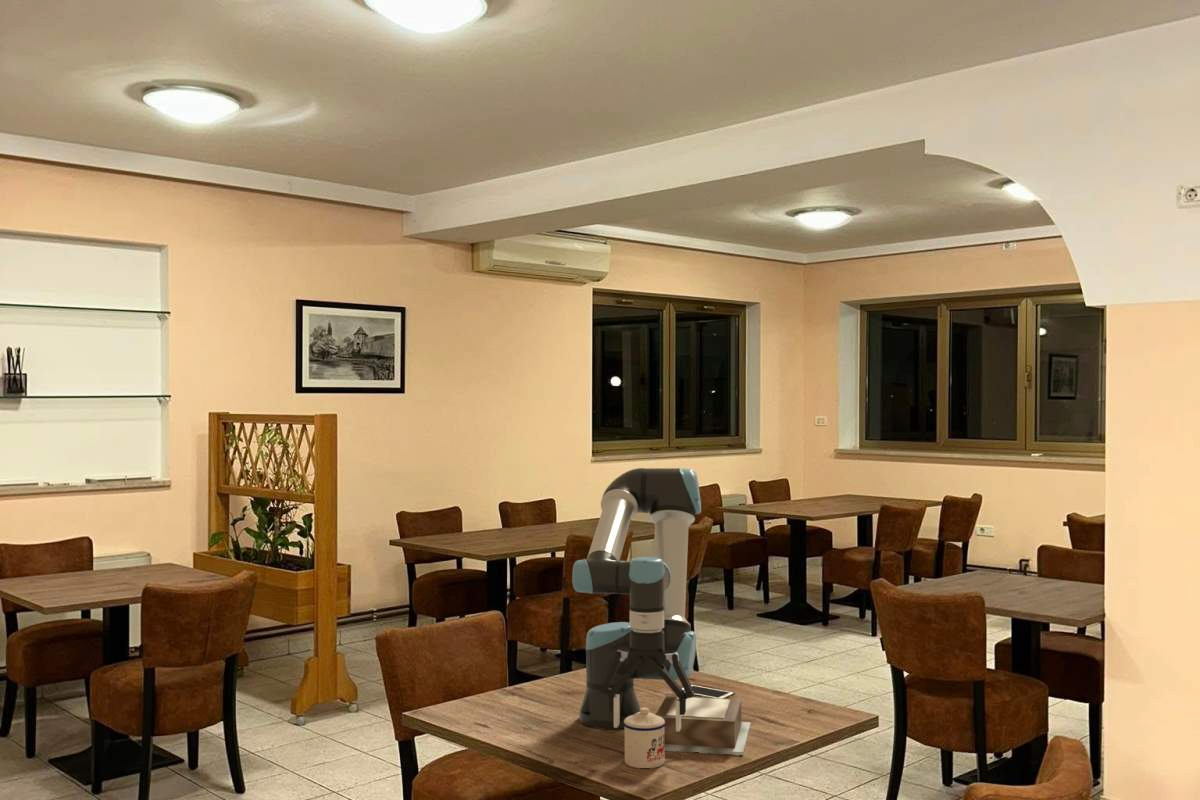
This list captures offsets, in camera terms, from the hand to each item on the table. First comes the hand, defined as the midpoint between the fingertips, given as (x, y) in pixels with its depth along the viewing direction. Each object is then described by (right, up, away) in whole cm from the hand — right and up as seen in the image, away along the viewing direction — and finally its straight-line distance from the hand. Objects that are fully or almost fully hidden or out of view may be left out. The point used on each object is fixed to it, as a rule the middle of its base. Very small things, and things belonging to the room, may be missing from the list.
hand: (647, 728), depth 228 cm
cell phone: (+18, -8, +53) cm, 56 cm away
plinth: (+13, -7, +16) cm, 22 cm away
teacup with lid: (0, -7, 0) cm, 7 cm away
